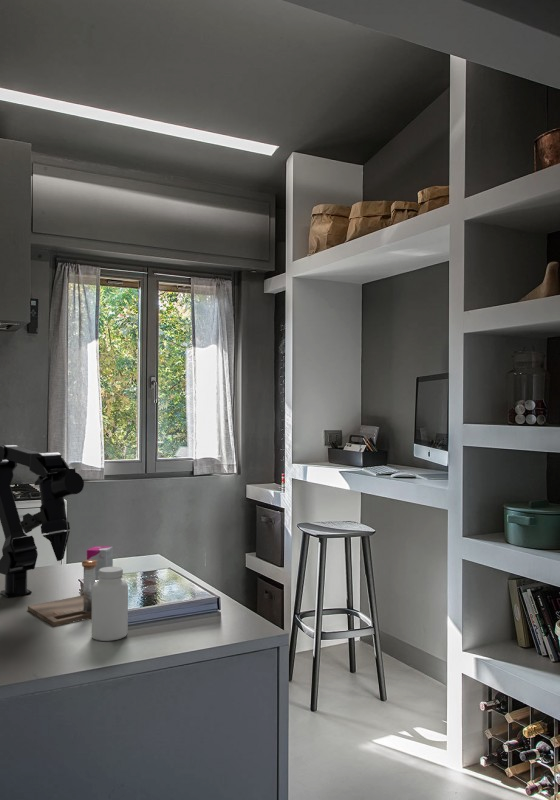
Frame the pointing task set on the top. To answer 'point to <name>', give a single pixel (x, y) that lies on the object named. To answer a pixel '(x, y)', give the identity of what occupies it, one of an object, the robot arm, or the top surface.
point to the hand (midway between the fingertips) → (60, 559)
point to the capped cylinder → (88, 584)
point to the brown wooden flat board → (61, 611)
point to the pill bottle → (109, 605)
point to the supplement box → (101, 558)
